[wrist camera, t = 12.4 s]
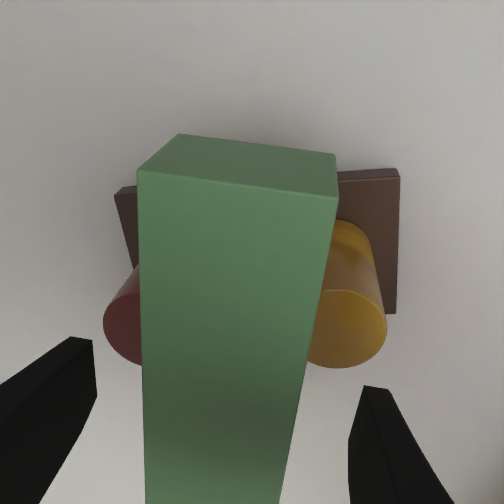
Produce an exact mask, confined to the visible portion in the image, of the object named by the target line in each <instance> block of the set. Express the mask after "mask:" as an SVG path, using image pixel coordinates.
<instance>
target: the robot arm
mask: <svg viewBox="0 0 504 504" xmlns="http://www.w3.org/2000/svg"><path fill="white" fill-rule="evenodd" d="M96 398H97V388H96V377H95V366H94V355H93V344H92V340H89V339H83V338H77V337H71V336H70V337H69V338H67V339H66V340H64V341H63V342H61V343H60V344H58V345H57V346H56V347H54V348H53V349H51V350H50V351H48V352H47V353H46V354H44V355H43V356H41V357H40V358H38V359H37V360H36V361H34V362H33V363H31V364H30V365H28V366H27V367H26V368H24V369H23V370H21V371H20V372H18V373H17V374H15V375H14V376H12V377H11V378H9V379H8V380H7V381H5V382H4V383H2V384H1V385H0V504H39V503H40V501H41V500H42V498H43V496H44V495H45V493H46V491H47V490H48V488H49V486H50V485H51V483H52V481H53V479H54V478H55V476H56V474H57V473H58V471H59V469H60V468H61V466H62V464H63V463H64V461H65V459H66V458H67V456H68V454H69V453H70V451H71V449H72V447H73V446H74V444H75V442H76V441H77V439H78V437H79V435H80V434H81V432H82V430H83V428H84V425H85V423H86V421H87V419H88V417H89V414H90V412H91V410H92V407H93V405H94V403H95V400H96ZM348 484H349V494H350V504H454V502H453V501H452V499H451V498H450V496H449V494H448V493H447V491H446V490H445V488H444V487H443V485H442V484H441V482H440V481H439V479H438V477H437V476H436V474H435V473H434V471H433V469H432V468H431V466H430V464H429V463H428V461H427V459H426V458H425V456H424V454H423V452H422V451H421V449H420V447H419V446H418V444H417V442H416V440H415V438H414V437H413V435H412V433H411V431H410V429H409V427H408V426H407V424H406V422H405V420H404V418H403V416H402V414H401V412H400V410H399V408H398V406H397V404H396V402H395V400H394V398H393V396H392V394H391V393H390V391H389V390H388V389H383V388H377V387H371V386H365V385H364V387H363V390H362V394H361V397H360V401H359V404H358V408H357V411H356V415H355V418H354V422H353V425H352V429H351V432H350V436H349V439H348Z"/></svg>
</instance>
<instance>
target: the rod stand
mask: <svg viewBox="0 0 504 504" xmlns="http://www.w3.org/2000/svg"><path fill="white" fill-rule="evenodd" d="M337 180H338V191H339V203H338V208H337V213H336V218H335V223H334V228H333V233H332V238H331V243H330V248H329V253H328V258H327V263H326V268H325V273H324V278H323V283H322V288H321V293H320V298H319V303H318V308H317V314H316V319H315V324H314V329H313V334H312V339H311V344H310V349H309V354H308V359H307V361H309V362H311V363H313V364H316V365H319V366H322V367H327V368H348V367H353V366H356V365H359V364H361V363H363V362H365V361H367V360H369V359H370V358H372V357H373V356H374V355H375V354H376V353H377V352H378V351H379V350H380V348H381V347H382V345H383V343H384V341H385V338H386V334H387V322H386V317H385V314H395V313H396V299H397V267H398V235H399V202H400V176H399V174H398V171H397V169H395V168H393V169H379V170H364V171H350V172H337ZM114 199H115V202H116V206H117V210H118V214H119V217H120V221H121V225H122V229H123V232H124V236H125V240H126V244H127V247H128V251H129V255H130V259H131V262H132V266H133V270H134V271H133V272H132V273H131V275H130V276H129V278H128V279H127V280H126V282H125V283H124V285H123V286H122V287H121V289H120V290H119V292H118V293H117V294H116V296H115V297H114V298H113V300H112V301H111V303H110V304H109V305H108V307H107V309H106V311H105V313H104V317H103V329H104V333H105V336H106V338H107V340H108V342H109V343H110V345H111V346H112V347H113V348H114V350H115V351H116V352H117V353H119V354H120V355H121V356H122V357H124V358H125V359H127V360H129V361H131V362H133V363H135V364H138V365H140V366H142V354H141V316H140V279H139V241H138V203H137V186H133V187H123V188H121V189H120V190H119V191H118V192H117V193H116V194H115V195H114Z"/></svg>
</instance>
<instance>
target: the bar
mask: <svg viewBox="0 0 504 504" xmlns="http://www.w3.org/2000/svg"><path fill="white" fill-rule="evenodd" d="M137 203H138V241H139V279H140V316H141V354H142V392H143V430H144V467H145V504H279V500H280V495H281V490H282V485H283V480H284V475H285V470H286V465H287V460H288V455H289V449H290V444H291V439H292V434H293V429H294V424H295V419H296V414H297V409H298V404H299V399H300V394H301V389H302V384H303V379H304V374H305V369H306V364H307V359H308V354H309V349H310V344H311V339H312V334H313V329H314V324H315V319H316V314H317V308H318V303H319V298H320V293H321V288H322V283H323V278H324V273H325V268H326V263H327V258H328V253H329V248H330V243H331V238H332V233H333V228H334V223H335V218H336V213H337V208H338V203H339V191H338V180H337V168H336V157H335V154H331V153H323V152H316V151H308V150H300V149H293V148H285V147H277V146H270V145H262V144H254V143H247V142H239V141H231V140H224V139H216V138H209V137H201V136H193V135H186V134H177V135H176V136H175V137H174V138H173V139H172V140H170V141H169V142H168V143H167V144H166V145H165V146H164V147H162V148H161V149H160V150H159V151H158V152H157V153H156V154H154V155H153V156H152V157H151V158H150V159H149V160H148V161H146V162H145V163H144V164H143V165H142V166H141V167H140V168H138V169H137Z"/></svg>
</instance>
